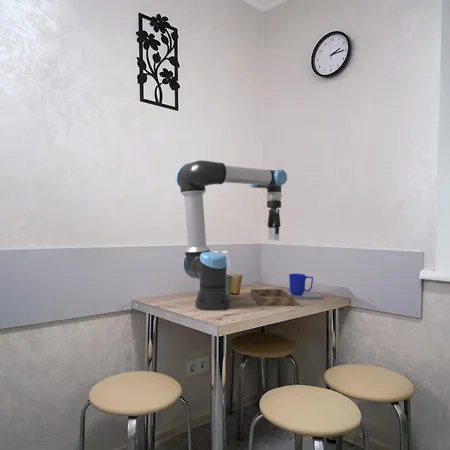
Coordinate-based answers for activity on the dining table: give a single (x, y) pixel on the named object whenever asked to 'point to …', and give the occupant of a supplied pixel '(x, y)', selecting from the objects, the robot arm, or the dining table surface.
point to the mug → (298, 283)
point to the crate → (283, 301)
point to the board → (306, 295)
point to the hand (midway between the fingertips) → (273, 240)
